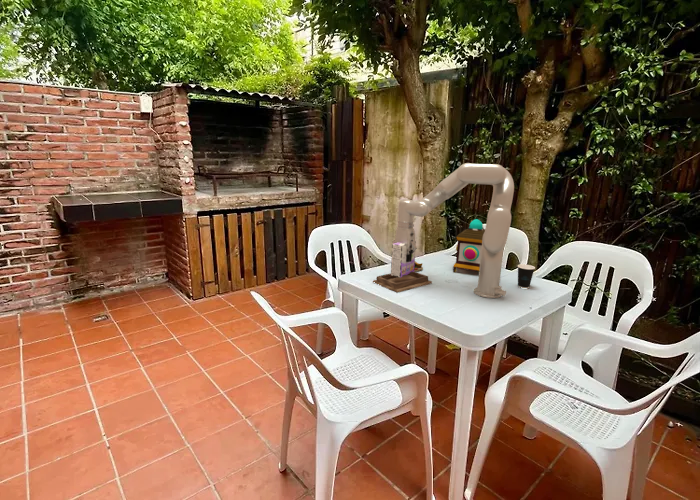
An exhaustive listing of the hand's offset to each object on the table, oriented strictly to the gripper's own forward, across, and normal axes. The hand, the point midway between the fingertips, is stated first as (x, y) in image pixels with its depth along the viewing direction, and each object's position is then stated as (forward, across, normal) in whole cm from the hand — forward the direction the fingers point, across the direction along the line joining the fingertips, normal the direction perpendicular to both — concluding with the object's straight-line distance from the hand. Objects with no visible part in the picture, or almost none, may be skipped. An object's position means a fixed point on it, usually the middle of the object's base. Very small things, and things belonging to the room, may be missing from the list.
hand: (403, 259), depth 186 cm
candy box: (+8, 0, 0) cm, 8 cm away
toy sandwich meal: (+13, +16, -22) cm, 30 cm away
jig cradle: (+12, 0, 0) cm, 12 cm away
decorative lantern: (+13, -7, -48) cm, 50 cm away
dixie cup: (+12, -39, -46) cm, 62 cm away
